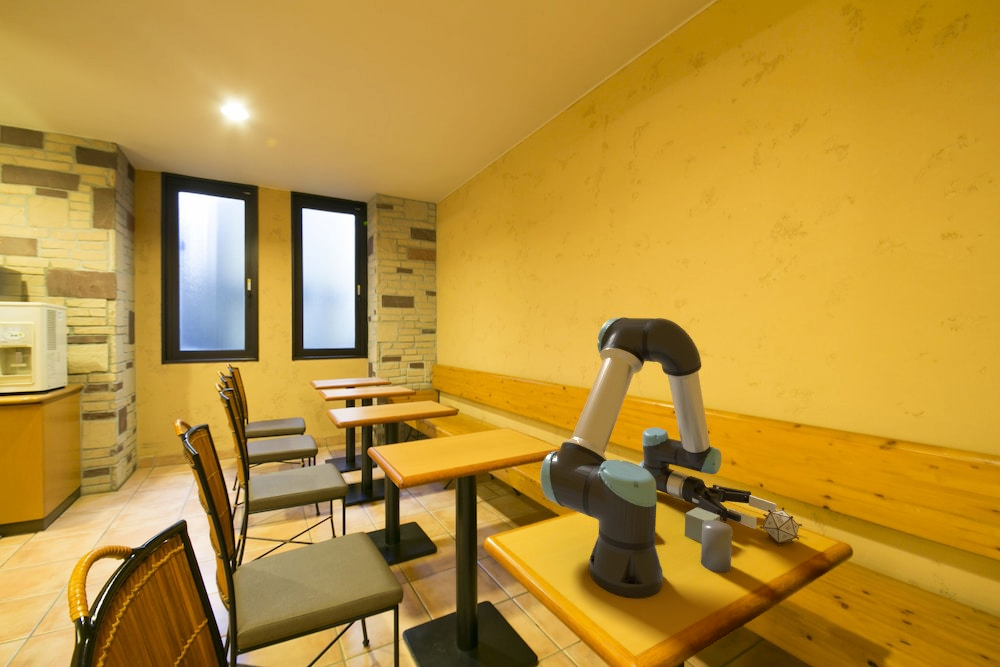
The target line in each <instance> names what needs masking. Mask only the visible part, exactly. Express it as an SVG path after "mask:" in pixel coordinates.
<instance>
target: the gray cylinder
mask: <svg viewBox="0 0 1000 667" xmlns="http://www.w3.org/2000/svg"><path fill="white" fill-rule="evenodd" d="M732 544H733V527H732V526H730V525H729V524H727V523H725V522H724V521H721V520H720V521H716V520H705V521H703V522H702V543H701V546H700V548H701V550H700V551H701V552H700V563H701V565H702V566H703V567H704V568H705V569H707V570H709V571H710V572H713V573H717V574H727V573H728V574H729V573H730V571H731V569H732V567H731V566H732V549H733V548H732Z"/></svg>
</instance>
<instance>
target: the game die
mask: <svg viewBox="0 0 1000 667" xmlns="http://www.w3.org/2000/svg"><path fill="white" fill-rule="evenodd" d="M767 513H768V514H766V513H763V516H764V517H765V518H764V522H763V525H762V526H759V529H764V531H765V532H766V533H768V536H769V537H771V538H773V540H775V541H776V542H777V543H776V545H777V546H778V547H779V546H780V543H787V542H791V543H792V544H794V540H795V539H797V540H801V539H800V537H798V532H799V527H803V524H802V523H797V522H796V521H795V520H794V516H793V515H789V514H788V513H787V512H785V508H784V506H782V507H781V510H776V511H774V512H771V511H770V510H768V512H767Z"/></svg>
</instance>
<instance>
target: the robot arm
mask: <svg viewBox="0 0 1000 667" xmlns="http://www.w3.org/2000/svg"><path fill="white" fill-rule="evenodd" d="M597 339H598V341H597V342H596V344H597V345H596V346H597V350H598V352H599V358H600V360H601V362H602V363H601V365H600V368H599V370H598V372H597V374H596V377H595V380H594V382H593V383H592V384H593V385H592V388H591V389H590V391H589V394H588V397H587V399H586V402H585V404H584V407H583V409H582V411H581V414H580V415H579V419H578V420H577V421H578V422H577V423H576V426H575V428H574V431H573V434H572V436H571V437H570V439H567V440H565V441H562V443H561V446H560V447H559V451H558V450H555V451H551V452H549V453H548V454H547V455H546V456H545V457H544V459H543V461H542V464H541V469H540V474H539V475H540V484H541V485H540V486H541V490H542V492H543V494H544V496H545V497H546V499H548V500H549V501H550V502H552V503H555V504H556V505H559V506H560V507H562V508H567V509H570V510H573V511H575V512H578V513H580V514H583V515H585V516H587V517H591V518H593V519H596V520H597V521H598V533H597V534H598V536H597V538H596V541H595V544H594V546H593V548H592V551H591V554H590V557H589V562H588V563H589V567H588V568H589V569H588V570H589V575H590V577H591V579H592V580H593V581H594V582H595V583H596V584H597V585H598V586H599V587H601V588H602V589H604V590H606V591H607V592H608V591H609V592H610V593H613V594H615V595H618V596H623V597H627V598H635V599H636V598H646V597H650V596H654V595H655V594H657V593H658V592H660V591H661V589H662V588H663V580H664V579H663V577H664V573H663V568H662V566H661V562H660V559H659V555H658V551H657V548H656V522H657V503H658V495H657V491H659V492H661V493H664V494H666V495H668V496H672V497H675V499H676V500H678V499H679V500H682V501H685V502H687V503H690V504H692V505H694V506H696V507H698V508H700V509H703V510H706V511H709V512H711V513H714V514H717V515H720V521H721V522H723V523H725V522H727V520H729V521H732V522H735V523H738V524H740V525H744V526H745V527H749V528H751V529H754V530H756V529H757V523H758V520H757V519H758V518H757V517H756V516H754V515H751V514H747V513H745V512H742V511H739V510H737V509H734V508H731V507H728V508H727V507H726V506H724V505H723V504H722V503H725V502H729V503H740V504H748V506H750V507H751V508H755V509H758V510H761V511H764V512H767V513H769V512H768V510H770V511H771V512H774V511H777V505H778V504H777V503H775V502H772V501H769V500H766V499H763V498H760V497H757V496H755V495H752V491H750V490H743V489H742V490H741V489H738V488H737V489H736V488H731V487H725V486H721V485H717V484H712V487H710V486H706V485H705V482H704V480H703V479H702V478H699V477H696V476H692V475H689V474H687V473H684V472H680V471H677V470H674V469H671V468H670V465H671V466H677V467H680V468H683V469H688V470H691V471H693V472H694V471H695V472H699V473H700V474H701V473H704V474H708V475H716V474H718V472H720V468H721V464H722V452H721V451H720V449H719V448H716V447H713V446H711V443H710V436H709V431H708V424H707V418H706V411H705V405H704V400H703V394H702V388H701V387H702V386H701V382H700V381H701V380H700V375H699V371H700V370H701V369H702V361H701V356H700V352H699V350H698V347H697V345H696V343H695V342H694V340H693V339H692V337H691V336H690V334H689V333H688V332H687V331H686V330H685V329H684V328H683V327H682V326H680V325H679V324H677V322H674V321H672V320H670V319H667V318H662V317H657V318H651V317H649V318H646V317H645V318H641V317H632V318H630V317H618V318H617V317H614V318H611V319H609V320H607V321H605V323H603V325H602V326H601V328H600V330H599V332H598V335H597ZM645 362H652V363H656V362H657V363H659V364H660V365H661V368H662V372H663V373H664V374H665V375H667V378H668V382H669V388H670V393H671V397H672V403H673V408H674V412H675V418H676V423H677V429H678V433H679V438H680V440H679V439H673V438H669V434H668V431H667V430H665V429H663V428H661V427H648V428H646V429H645V430H644V431H643V432H642V443H641V444H642V451H643V452H642V453H643V460H642V461H640V462H639V464H637V463H633V462H630V461H626V460H622V461H621V460H619V459H607V456H606V455H605V452H606V451H607V447H608V444H609V441H610V439H611V436H612V433H613V430H614V429H615V426H616V423H617V420H618V417H619V415H620V412H621V409H622V406H623V404H624V401H625V399H626V395H627V392H628V390H629V387H630V385H631V383H632V379H633V377H634V374H637V373H640V372H641V371H642V369H643V367H644V364H645Z"/></svg>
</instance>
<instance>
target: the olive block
mask: <svg viewBox="0 0 1000 667" xmlns="http://www.w3.org/2000/svg"><path fill="white" fill-rule="evenodd" d="M684 519H685V520H684V537H686V538H688V539H690V540H693V541H694V542H695V541H696V542H698V543H700V544H702V522H703V521H705V520H716V521H720V522H721V520H720V515H717V514H714V513H711V512H709V511H706V510H703V509H701V508H700V507H698V506H696V507H695V508H693V509H691V510H689V511H687V512H685V515H684Z"/></svg>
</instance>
